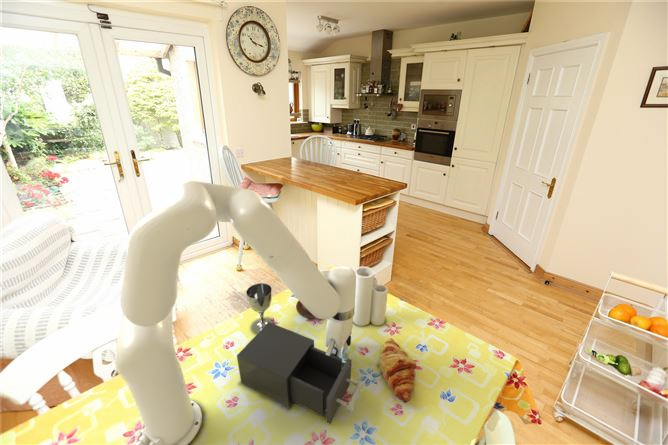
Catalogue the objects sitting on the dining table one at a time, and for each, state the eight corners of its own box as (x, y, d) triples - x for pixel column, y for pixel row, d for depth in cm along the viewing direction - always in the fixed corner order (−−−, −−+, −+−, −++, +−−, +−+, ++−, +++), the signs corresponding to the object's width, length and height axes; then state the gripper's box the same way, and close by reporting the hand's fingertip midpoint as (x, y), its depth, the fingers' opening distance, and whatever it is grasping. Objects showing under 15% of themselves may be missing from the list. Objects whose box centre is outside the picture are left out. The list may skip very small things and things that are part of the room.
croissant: (379, 351, 95) (369, 334, 92) (407, 339, 93) (398, 322, 90) (394, 416, 75) (382, 398, 72) (431, 402, 74) (420, 383, 71)
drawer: (365, 389, 78) (367, 366, 74) (347, 433, 68) (348, 409, 64) (305, 362, 85) (304, 340, 82) (280, 398, 75) (278, 375, 72)
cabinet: (314, 366, 85) (314, 340, 81) (288, 408, 74) (286, 379, 70) (271, 347, 91) (268, 321, 87) (241, 383, 80) (236, 355, 76)
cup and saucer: (332, 301, 112) (332, 288, 109) (323, 323, 101) (323, 309, 99) (302, 296, 114) (302, 284, 112) (291, 317, 103) (290, 304, 101)
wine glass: (246, 330, 98) (240, 294, 92) (261, 315, 104) (257, 280, 98) (265, 338, 95) (261, 301, 89) (279, 322, 101) (276, 287, 95)
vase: (353, 326, 100) (356, 278, 92) (350, 312, 107) (353, 265, 98) (385, 324, 101) (391, 276, 93) (381, 310, 108) (385, 264, 99)
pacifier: (329, 368, 85) (350, 368, 85) (329, 352, 82) (350, 352, 82) (329, 348, 92) (348, 348, 92) (329, 333, 89) (348, 333, 89)
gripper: (341, 287, 89) (340, 330, 96) (313, 324, 75) (314, 372, 82) (364, 294, 86) (361, 338, 93) (340, 334, 72) (338, 383, 79)
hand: (339, 354), depth 88 cm, fingers open, 8 cm apart
